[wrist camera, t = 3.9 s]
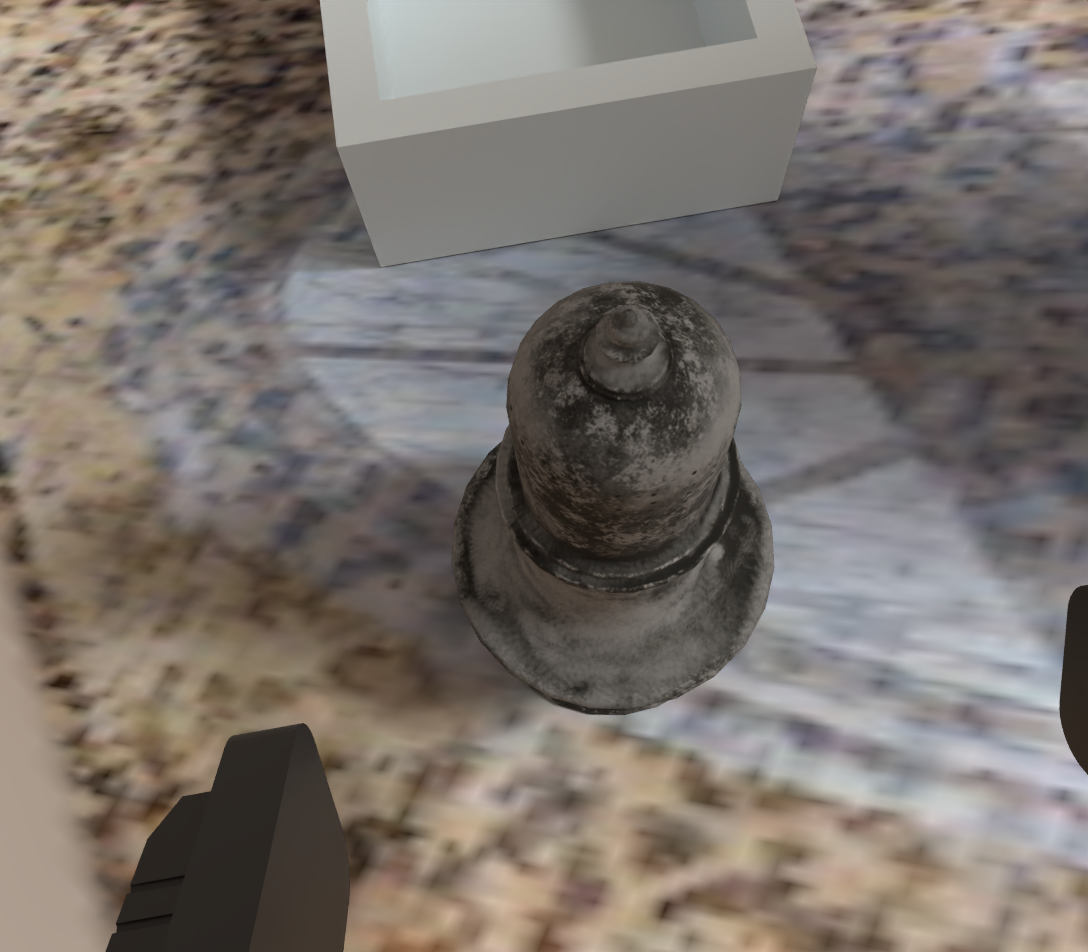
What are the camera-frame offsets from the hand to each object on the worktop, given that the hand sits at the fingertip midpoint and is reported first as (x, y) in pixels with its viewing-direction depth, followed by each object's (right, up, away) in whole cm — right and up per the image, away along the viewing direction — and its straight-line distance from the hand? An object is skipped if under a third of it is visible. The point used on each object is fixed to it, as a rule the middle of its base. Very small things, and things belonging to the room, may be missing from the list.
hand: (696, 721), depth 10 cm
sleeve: (-2, +13, +16) cm, 21 cm away
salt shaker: (0, 0, +11) cm, 11 cm away
